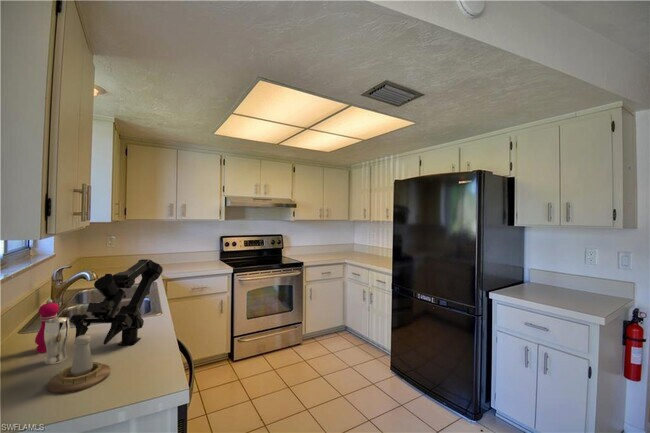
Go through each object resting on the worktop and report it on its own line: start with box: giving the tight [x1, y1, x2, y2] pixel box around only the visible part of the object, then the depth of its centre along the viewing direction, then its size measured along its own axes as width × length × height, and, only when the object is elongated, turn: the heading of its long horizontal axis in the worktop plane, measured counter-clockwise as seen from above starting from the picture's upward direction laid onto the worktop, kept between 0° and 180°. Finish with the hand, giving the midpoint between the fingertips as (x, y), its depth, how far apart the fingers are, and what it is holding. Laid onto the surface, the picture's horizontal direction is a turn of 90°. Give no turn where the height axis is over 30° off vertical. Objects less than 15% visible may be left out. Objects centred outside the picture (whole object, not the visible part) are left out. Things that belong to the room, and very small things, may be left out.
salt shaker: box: [70, 334, 94, 377], centre depth 97 cm, size 6×6×13 cm
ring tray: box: [46, 361, 111, 395], centre depth 97 cm, size 16×16×3 cm
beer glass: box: [44, 316, 71, 365], centre depth 108 cm, size 7×7×15 cm
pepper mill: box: [34, 298, 60, 354], centre depth 117 cm, size 7×7×20 cm
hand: (90, 344), depth 101 cm, fingers open, 9 cm apart
